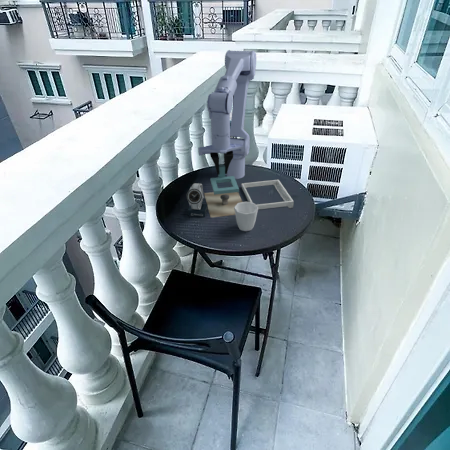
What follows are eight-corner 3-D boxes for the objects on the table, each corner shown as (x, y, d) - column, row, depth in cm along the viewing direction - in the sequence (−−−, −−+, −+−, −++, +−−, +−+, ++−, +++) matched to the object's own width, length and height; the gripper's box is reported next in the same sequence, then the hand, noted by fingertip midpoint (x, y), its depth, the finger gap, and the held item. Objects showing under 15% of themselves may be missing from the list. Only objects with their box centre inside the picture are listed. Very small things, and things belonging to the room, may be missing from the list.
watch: (186, 221, 104) (183, 191, 98) (193, 208, 111) (190, 178, 105) (204, 223, 104) (202, 192, 97) (209, 209, 110) (207, 179, 104)
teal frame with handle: (209, 178, 112) (209, 165, 109) (232, 175, 113) (232, 162, 110) (214, 194, 105) (213, 181, 101) (238, 191, 106) (239, 178, 102)
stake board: (204, 195, 118) (203, 186, 116) (237, 192, 119) (237, 183, 117) (210, 220, 105) (210, 210, 103) (247, 215, 107) (247, 206, 104)
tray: (241, 189, 121) (241, 183, 120) (278, 185, 123) (278, 179, 121) (252, 212, 108) (252, 206, 107) (293, 207, 110) (293, 201, 109)
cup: (233, 236, 98) (233, 213, 93) (235, 217, 106) (235, 195, 101) (257, 237, 97) (258, 214, 92) (257, 218, 105) (258, 196, 101)
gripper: (199, 139, 98) (201, 180, 106) (246, 135, 100) (245, 176, 108) (196, 131, 104) (199, 171, 112) (241, 128, 106) (240, 167, 114)
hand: (221, 173), depth 110 cm, fingers closed on teal frame with handle
